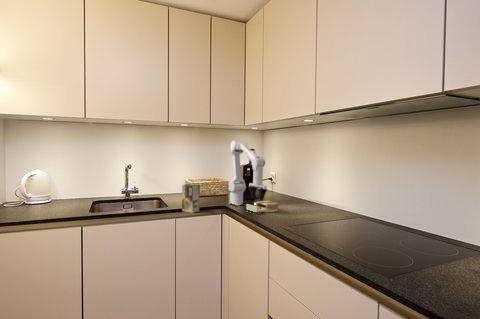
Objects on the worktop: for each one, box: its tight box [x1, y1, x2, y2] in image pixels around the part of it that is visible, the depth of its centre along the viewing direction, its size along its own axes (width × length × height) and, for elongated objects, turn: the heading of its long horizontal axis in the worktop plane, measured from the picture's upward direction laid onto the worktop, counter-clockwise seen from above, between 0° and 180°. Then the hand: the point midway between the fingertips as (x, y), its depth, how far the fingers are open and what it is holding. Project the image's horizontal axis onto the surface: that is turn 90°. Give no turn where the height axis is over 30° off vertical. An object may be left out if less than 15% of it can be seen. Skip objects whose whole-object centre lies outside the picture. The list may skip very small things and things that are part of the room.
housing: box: [256, 200, 279, 211], centre depth 175 cm, size 10×9×5 cm
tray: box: [245, 203, 266, 212], centre depth 170 cm, size 10×9×4 cm
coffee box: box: [181, 183, 201, 214], centre depth 169 cm, size 9×6×16 cm
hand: (257, 199), depth 170 cm, fingers open, 7 cm apart
